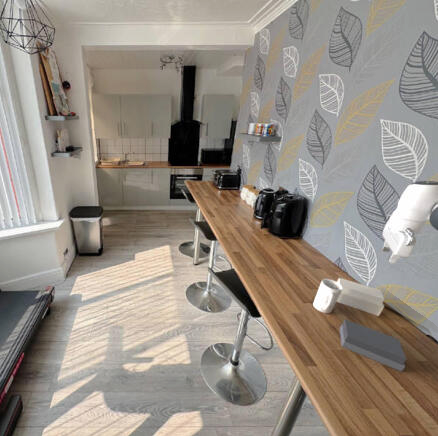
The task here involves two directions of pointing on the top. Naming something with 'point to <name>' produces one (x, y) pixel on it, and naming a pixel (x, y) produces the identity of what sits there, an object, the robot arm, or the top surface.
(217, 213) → the top surface
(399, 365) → the grey rectangular block
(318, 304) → the mug
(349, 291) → the cream rectangular block
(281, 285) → the top surface
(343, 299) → the white rectangular block
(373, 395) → the top surface
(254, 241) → the top surface
